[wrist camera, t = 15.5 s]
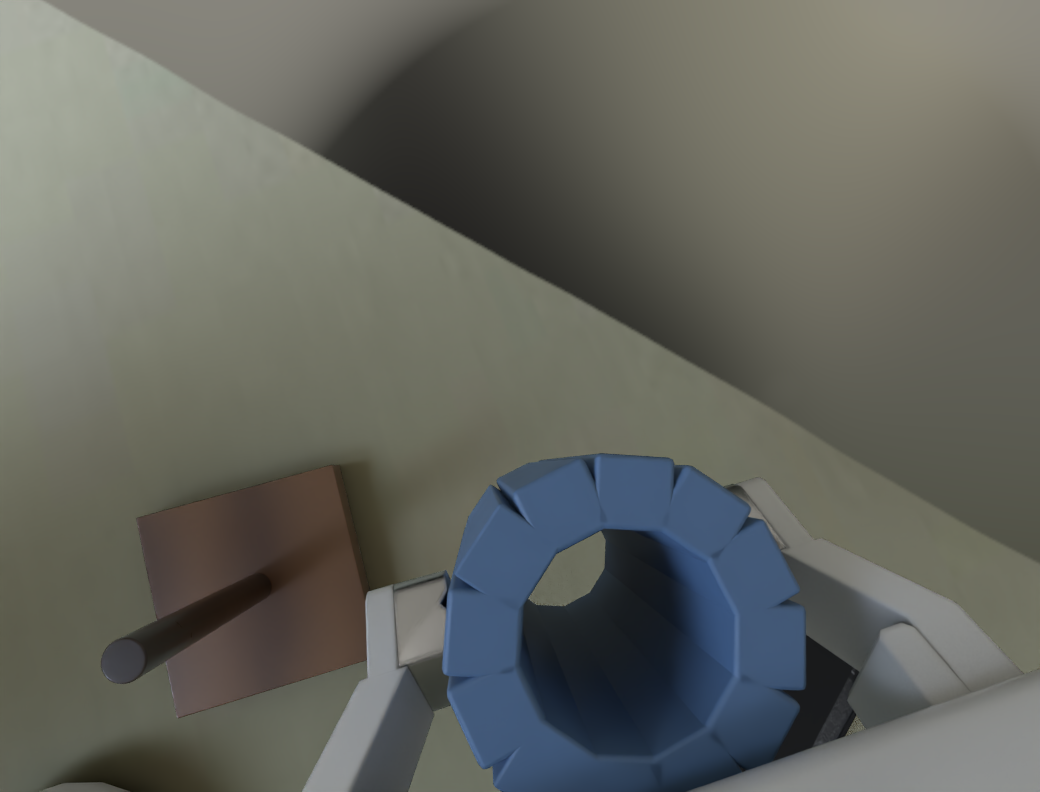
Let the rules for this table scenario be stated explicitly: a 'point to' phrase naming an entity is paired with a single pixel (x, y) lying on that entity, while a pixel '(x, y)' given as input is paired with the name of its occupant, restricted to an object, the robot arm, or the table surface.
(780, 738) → the tube
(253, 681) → the dowel stand
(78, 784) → the donut
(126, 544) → the table surface
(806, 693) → the phone
